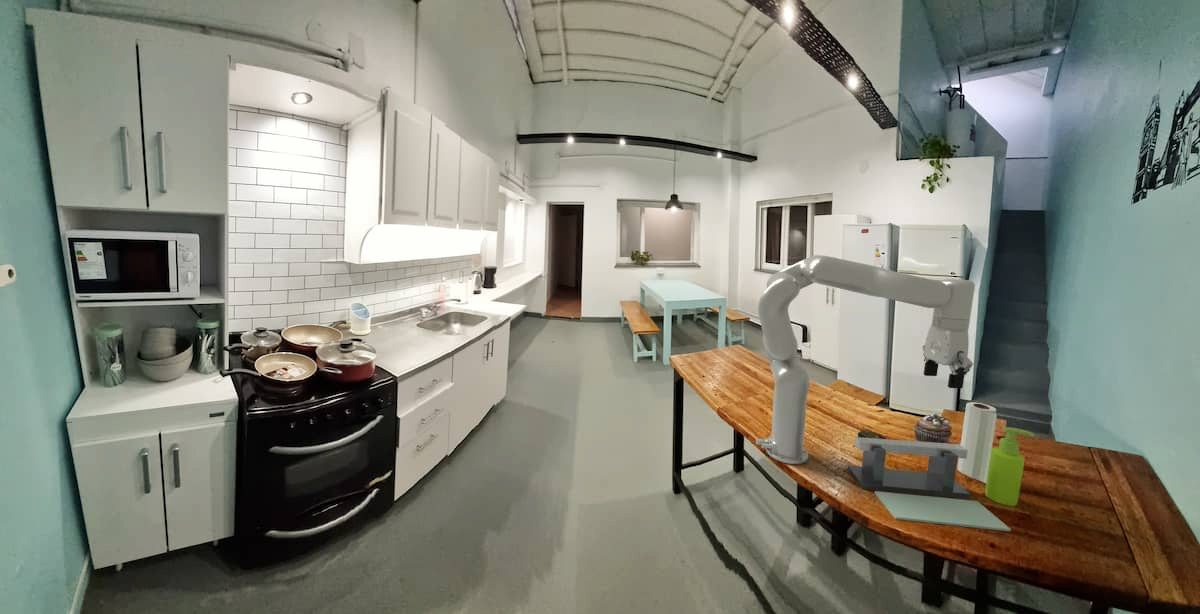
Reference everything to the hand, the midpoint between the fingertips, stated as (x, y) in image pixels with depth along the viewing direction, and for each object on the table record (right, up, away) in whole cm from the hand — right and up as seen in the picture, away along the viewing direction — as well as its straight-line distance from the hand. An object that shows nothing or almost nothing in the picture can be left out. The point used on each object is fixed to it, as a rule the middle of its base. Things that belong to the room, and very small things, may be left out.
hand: (941, 381), depth 105 cm
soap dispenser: (+10, -30, -7) cm, 33 cm away
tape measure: (-4, -26, +22) cm, 34 cm away
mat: (-12, -31, -11) cm, 35 cm away
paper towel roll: (+12, -29, +3) cm, 31 cm away
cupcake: (+15, -26, +21) cm, 36 cm away
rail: (-11, -20, -2) cm, 23 cm away
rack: (-11, -29, 0) cm, 31 cm away
